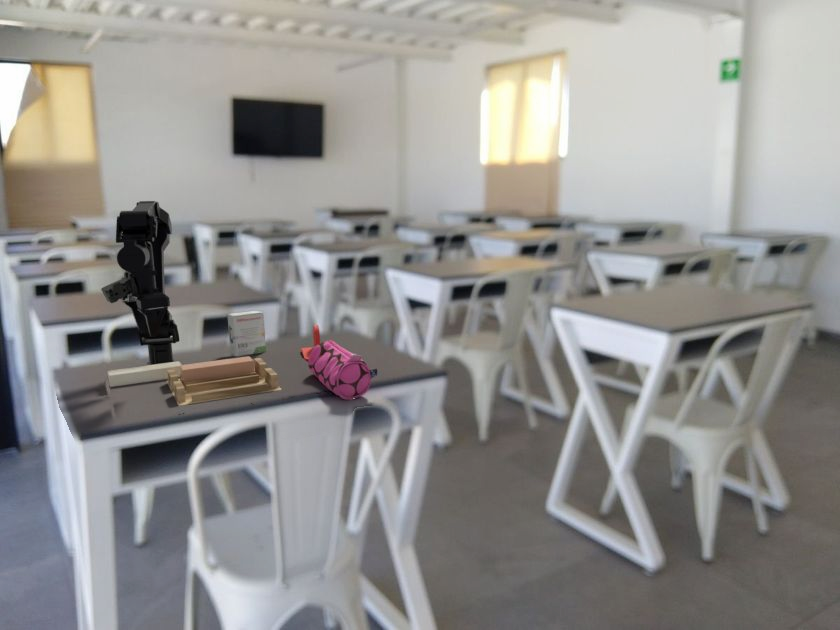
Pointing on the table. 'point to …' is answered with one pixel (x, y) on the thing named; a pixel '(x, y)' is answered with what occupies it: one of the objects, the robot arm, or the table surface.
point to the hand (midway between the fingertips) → (147, 333)
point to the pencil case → (340, 370)
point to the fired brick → (216, 369)
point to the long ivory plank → (142, 373)
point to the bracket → (316, 336)
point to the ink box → (246, 333)
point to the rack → (224, 385)
